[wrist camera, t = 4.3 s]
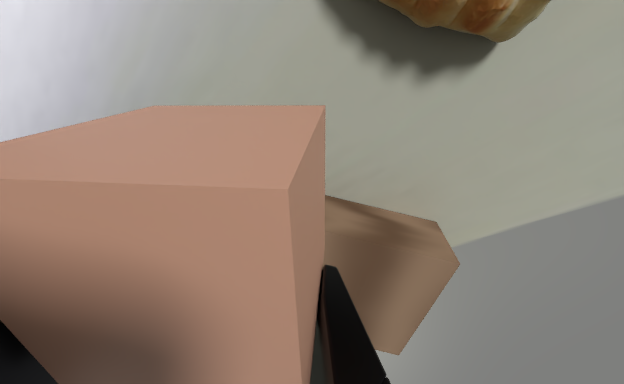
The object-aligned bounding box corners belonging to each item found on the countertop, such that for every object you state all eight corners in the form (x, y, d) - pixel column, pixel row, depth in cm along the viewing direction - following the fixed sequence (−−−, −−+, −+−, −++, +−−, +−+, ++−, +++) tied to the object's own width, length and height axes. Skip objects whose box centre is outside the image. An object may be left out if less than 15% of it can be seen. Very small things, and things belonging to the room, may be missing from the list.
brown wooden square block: (287, 281, 21) (275, 325, 18) (307, 191, 17) (298, 224, 14) (389, 306, 21) (398, 355, 18) (436, 222, 17) (460, 264, 14)
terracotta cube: (194, 241, 10) (68, 394, 5) (154, 105, 7) (-133, 174, 3) (324, 250, 9) (305, 428, 5) (325, 105, 7) (287, 189, 2)
